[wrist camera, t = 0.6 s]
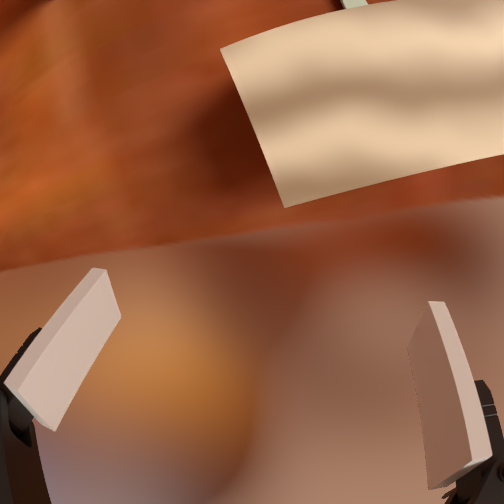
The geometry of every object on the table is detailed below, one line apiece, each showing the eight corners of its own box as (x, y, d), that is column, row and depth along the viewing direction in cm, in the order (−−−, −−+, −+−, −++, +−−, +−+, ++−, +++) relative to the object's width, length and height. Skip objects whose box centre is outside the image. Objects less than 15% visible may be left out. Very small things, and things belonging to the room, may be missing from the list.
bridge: (258, 61, 29) (219, 49, 16) (456, 19, 21) (539, 2, 8) (294, 151, 34) (284, 207, 20) (481, 108, 26) (568, 141, 13)
